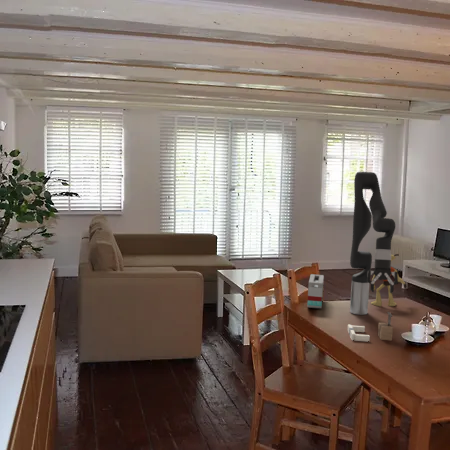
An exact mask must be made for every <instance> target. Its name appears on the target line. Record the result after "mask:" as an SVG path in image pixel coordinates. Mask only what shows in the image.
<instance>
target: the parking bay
mask: <svg viewBox="0 0 450 450" xmlns="http://www.w3.org/2000/svg"><path fill="white" fill-rule="evenodd" d="M365 329H366V327H365V325H352V324H347V332H348V335H349V337H350V339H351V341H353V340H354V341H355V342H368V341H369V342H370V337H371V336H370V335H369V334H360V333H365V332H366V330H365ZM356 332H357V333H356ZM358 333H359V334H358Z"/></svg>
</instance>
